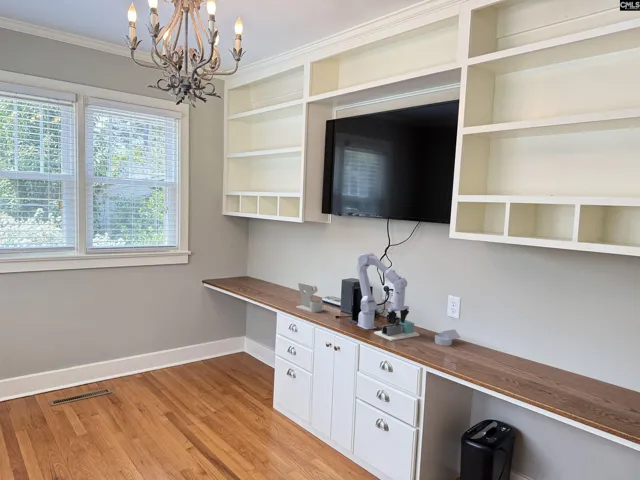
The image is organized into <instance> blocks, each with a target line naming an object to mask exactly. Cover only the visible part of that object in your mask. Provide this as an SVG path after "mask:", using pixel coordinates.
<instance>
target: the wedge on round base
mask: <svg viewBox="0 0 640 480" xmlns="http://www.w3.org/2000/svg"><path fill="white" fill-rule="evenodd" d="M460 338H461V336H460V334H459V333H458V331H457V330H456V328H455V329H448V330H443V331H441V332H440V333H438V334H435V335H434V343H435V344H436V345H438V346H445V347H448V346H451V345H453V344H452V342H453V341H452V340H456V339H460Z"/></svg>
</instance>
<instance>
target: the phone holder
mask: <svg viewBox="0 0 640 480" xmlns="http://www.w3.org/2000/svg"><path fill="white" fill-rule="evenodd" d="M297 285H298V290H299V293H300V298H301V303H302V304H300V305H296V306H295V307H296V308H297V309H300V310H303V311H306V312H309V313H320V312H323V311H324V309H323V305H324V304H323V303H324V301H322V300H313V297H312V296H313V295H315V294H316V293H317V292H318V287H317V286H316V285H315V284H312V283H311V284H310V283H306V282H302V281H300V282H298V283H297Z"/></svg>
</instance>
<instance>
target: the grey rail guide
mask: <svg viewBox="0 0 640 480" xmlns="http://www.w3.org/2000/svg"><path fill="white" fill-rule="evenodd" d="M381 331H382V334H383V335H386V336H392V335H397V334H401V325H396V322H395V324H391V323H389V324H383V325H382V326H381Z"/></svg>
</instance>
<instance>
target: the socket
mask: <svg viewBox="0 0 640 480" xmlns="http://www.w3.org/2000/svg"><path fill="white" fill-rule="evenodd" d="M399 325H404V331H402V333H405V334H407V333H413V332H415V323H414V322H412V321H409V320H407V319H405V321H404V323H402V322H401V320H400V322H399Z"/></svg>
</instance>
